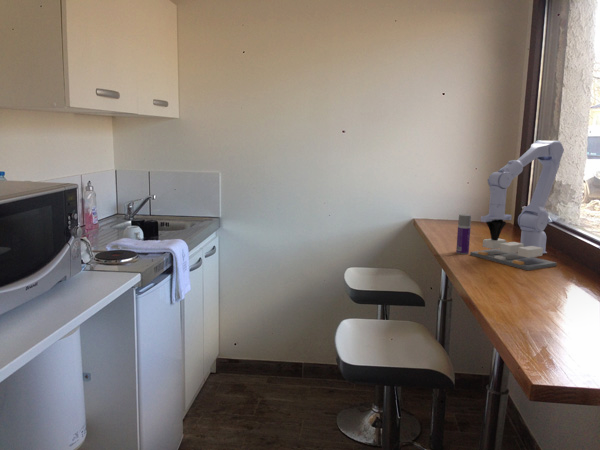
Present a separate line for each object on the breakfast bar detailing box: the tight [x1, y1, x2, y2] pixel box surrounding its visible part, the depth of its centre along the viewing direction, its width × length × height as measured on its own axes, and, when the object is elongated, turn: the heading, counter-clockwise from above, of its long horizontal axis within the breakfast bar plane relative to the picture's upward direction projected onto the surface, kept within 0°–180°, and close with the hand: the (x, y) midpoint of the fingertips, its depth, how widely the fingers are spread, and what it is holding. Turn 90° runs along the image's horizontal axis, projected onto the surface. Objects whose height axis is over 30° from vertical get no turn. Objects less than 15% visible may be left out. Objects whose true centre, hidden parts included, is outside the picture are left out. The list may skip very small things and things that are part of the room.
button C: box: [517, 246, 544, 258], centre depth 188 cm, size 8×4×3 cm, turn 119°
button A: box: [482, 237, 507, 250], centre depth 202 cm, size 8×4×3 cm, turn 119°
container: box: [455, 213, 472, 255], centre depth 206 cm, size 5×5×15 cm
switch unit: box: [469, 248, 558, 271], centre depth 196 cm, size 15×26×2 cm, turn 29°
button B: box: [499, 241, 524, 253], centre depth 195 cm, size 8×4×3 cm, turn 119°
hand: (494, 239), depth 202 cm, fingers closed
